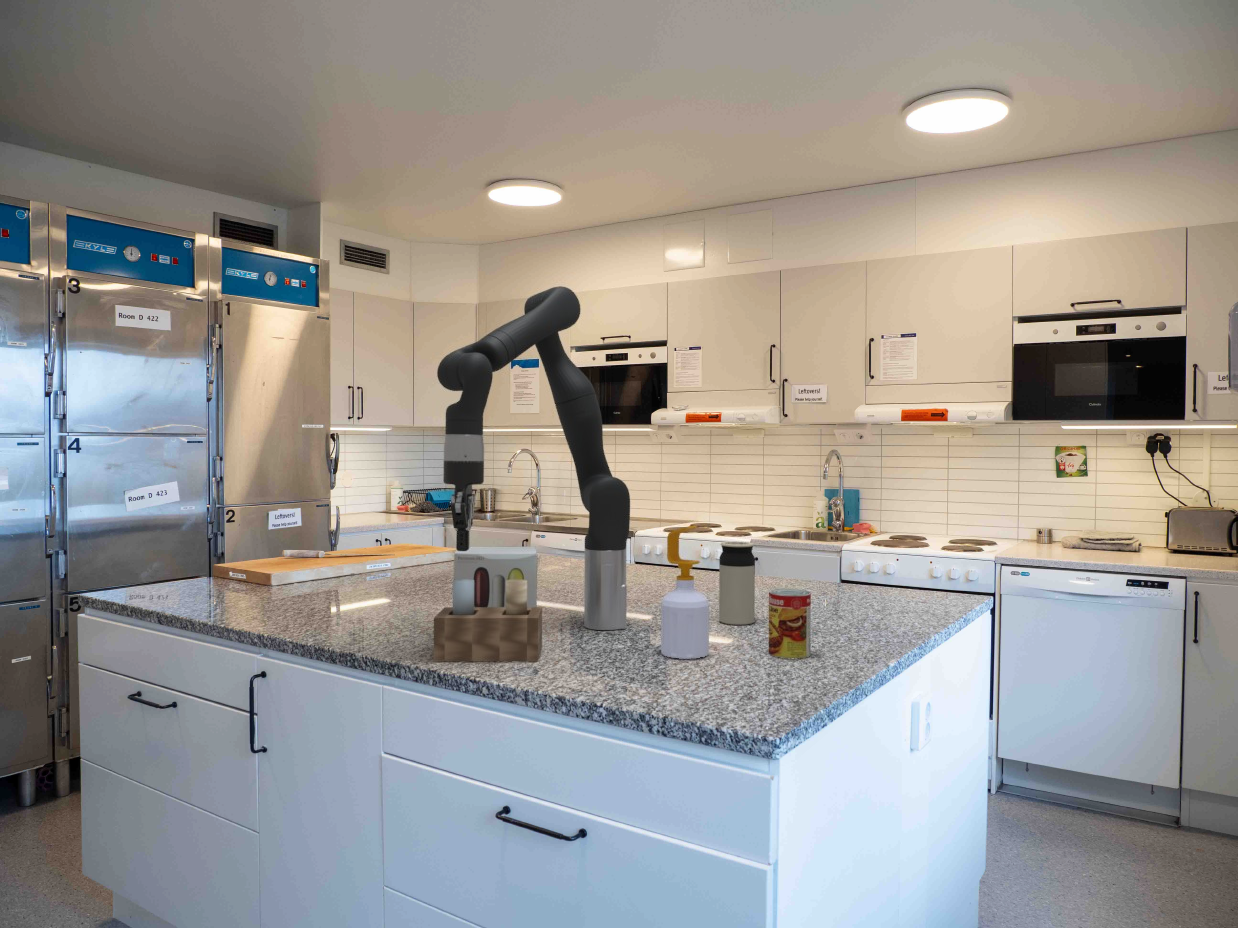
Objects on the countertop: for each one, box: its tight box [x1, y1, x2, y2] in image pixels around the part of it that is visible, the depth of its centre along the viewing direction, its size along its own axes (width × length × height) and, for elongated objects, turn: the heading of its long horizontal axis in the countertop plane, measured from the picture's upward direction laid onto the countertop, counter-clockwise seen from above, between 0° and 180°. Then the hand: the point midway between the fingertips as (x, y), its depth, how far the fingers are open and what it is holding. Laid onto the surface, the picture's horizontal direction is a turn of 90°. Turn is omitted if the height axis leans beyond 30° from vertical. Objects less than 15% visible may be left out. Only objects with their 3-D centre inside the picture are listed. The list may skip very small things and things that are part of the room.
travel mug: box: [718, 541, 756, 626], centre depth 191 cm, size 8×8×18 cm
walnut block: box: [433, 606, 543, 663], centre depth 159 cm, size 19×11×8 cm, turn 91°
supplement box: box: [453, 545, 538, 607], centre depth 177 cm, size 17×13×18 cm
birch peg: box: [506, 579, 527, 615], centre depth 159 cm, size 4×4×8 cm
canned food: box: [768, 587, 812, 659], centre depth 160 cm, size 8×8×12 cm
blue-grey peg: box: [452, 579, 474, 615], centre depth 158 cm, size 4×4×8 cm
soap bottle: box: [660, 525, 710, 660], centre depth 159 cm, size 9×9×25 cm
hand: (462, 550), depth 159 cm, fingers closed
